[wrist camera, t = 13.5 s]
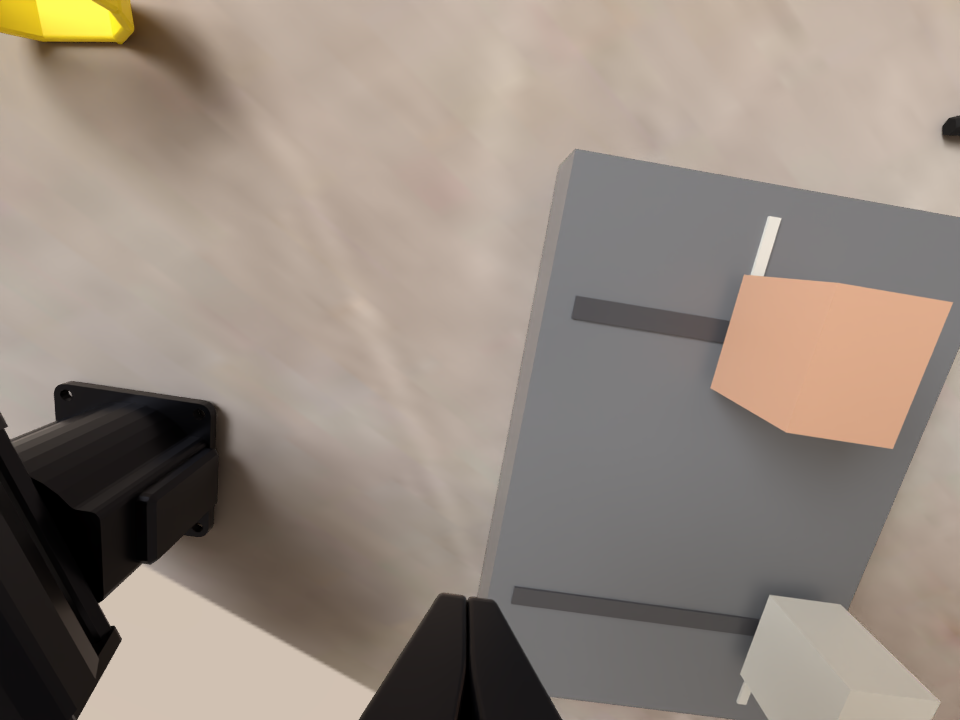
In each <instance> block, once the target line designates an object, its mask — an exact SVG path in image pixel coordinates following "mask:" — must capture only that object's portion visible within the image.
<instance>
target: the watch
mask: <svg viewBox="0 0 960 720" xmlns="http://www.w3.org/2000/svg"><path fill="white" fill-rule="evenodd" d="M0 32H1V33H5V34H10V35H14V36H19V37H24V38H28V39H33V40H37V41H42V42H117V44H123V42H125V41H126V40H127V39H128V37H129V36H130V35H131V34H132V33H133V32H134V23H133V17H132V10H131V4H130V0H0Z"/></svg>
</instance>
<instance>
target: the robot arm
mask: <svg viewBox="0 0 960 720" xmlns="http://www.w3.org/2000/svg"><path fill="white" fill-rule="evenodd" d="M68 391H70V392H71V393H72V396H73V397H71V396H70V395H69V392H68ZM54 400H55V415H56V421H55V422H53V423H50V424H48V425H45V426H43V427H40V428H38V429H35V430H33V431H30V432H28V433H25V434H23V435H20V436H18V437H15V438H13V439H9V437H8V435H7V433H6V431H5V429H4V428H6V427H8V426H7V424H6V422H5V420H4V418H3V416H2V414H1V413H0V720H77V719H78V717H79V715H80V713H81V712H82V710H83V708H84V706H85V705H86V703H87V701H88V699H89V697H90V696H91V694H92V692H93V690H94V688H95V687H96V685H97V683H98V681H99V679H100V678H101V676H102V674H103V672H104V671H105V669H106V667H107V665H108V664H109V662H110V660H111V658H112V656H113V655H114V653H115V651H116V649H117V647H118V646H119V644H120V642H121V640H122V638H121V637H120V635H119V633H118V631H117V629H116V627H115V626H110V624H109V622H108V621H107V619H106V617H105V615H104V613H103V611H102V610H101V608H100V606H99V604H98V603H100V602H101V601H103V600H104V599H105V598H106V597H107V596H108V595H109V594H110V593H111V592H112V591H113V590H114V589H115V588H116V587H118V586H119V584H121V583H122V582H123V581H124V580H125V579H126V578H127V577H128V576H129V575H131V574H132V572H134V571H135V570H136V569H137V568H138V567H139V566H140V565H141V564H142V563H143V564H150V565H151V564H152V563H154V562H155V561H157V560H158V559H159V558H160V557H161V556H162V555H163V554H164V553H166V552H167V551H168V550H169V549H170V548H171V547H172V546H173V545H174V544H175V543H176V542H177V541H178V540H179V539H180V538H181V537H182V536H183V535H187V536H195V537H202V536H204V535H206V534H207V533H208V532H209V531H210V529H211V528H212V527H213V524H214V505H215V504H216V503H217V493H218V453H217V451H216V450H215V440H216V410H215V408H214V406H213V405H212V404H211V403H210V402H207V401H203V400H197V399H190V398H183V397H176V396H170V395H163V394H156V393H149V392H143V391H136V390H129V389H122V388H116V387H109V386H102V385H95V384H89V383H82V382H75V381H70V382H66V383H63V384H60V385H58V386H57V387H56V388H55V391H54ZM199 409H200V410H202V411H203V412H204V413H205V417H203V416H201V415H200V414H199V411H198V410H199ZM197 522H198V523H200V524H201V525H202V526H203V527H201V526H199V525H198V523H197ZM359 720H562V719H561V717H560V715H559V713H558V711H557V710H556V708H555V706H554V704H553V703H552V701H551V699H550V697H549V695H548V694H547V692H546V690H545V688H544V686H543V685H542V683H541V681H540V679H539V678H538V676H537V674H536V672H535V670H534V669H533V667H532V665H531V663H530V661H529V660H528V658H527V656H526V654H525V653H524V651H523V649H522V647H521V645H520V644H519V642H518V640H517V638H516V637H515V635H514V633H513V631H512V629H511V628H510V626H509V624H508V622H507V620H506V619H505V617H504V615H503V613H502V612H501V610H500V608H499V606H498V604H497V603H496V602H495V601H494V600H492V599H487V598H479V597H470V598H468V600H466V597H465V596H463V595H457V594H449V593H441V594H439V595H438V596H437V598H436V599H435V601H434V602H433V604H432V606H431V607H430V609H429V610H428V612H427V613H426V615H425V617H424V618H423V620H422V621H421V623H420V624H419V626H418V628H417V629H416V631H415V632H414V634H413V635H412V637H411V639H410V640H409V642H408V643H407V645H406V646H405V648H404V650H403V651H402V653H401V654H400V656H399V657H398V659H397V661H396V662H395V664H394V665H393V667H392V668H391V670H390V672H389V673H388V675H387V676H386V678H385V679H384V681H383V682H382V684H381V686H380V687H379V689H378V690H377V692H376V693H375V695H374V697H373V698H372V700H371V701H370V703H369V704H368V706H367V708H366V709H365V711H364V712H363V714H362V715H361V717H360V719H359Z"/></svg>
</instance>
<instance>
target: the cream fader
mask: <svg viewBox="0 0 960 720" xmlns="http://www.w3.org/2000/svg"><path fill="white" fill-rule="evenodd" d="M740 675H741V677H742V678H743V680H744V681H745V683H746V685H747V686H748V688H749V689H750V691H751V693H752V694H753V696H754V697H755V699H756V701H757V702H758V704H759V705H760V707H761V709H762V710H763V712H764V714H765V715H766V717H767V718H768V720H932V718H933V716H934V714H935V712H936V711H937V709H938V707H939V705H940V703H941V701H940V700H939V699H938V698H937V697H936V696H934V695H933V694H932V693H931V692H930V691H929V690H928V689H927V688H926V687H925V686H924V685H923V684H922V683H921V682H920V681H919V680H918V679H917V678H916V677H915V676H914V675H913V674H912V673H911V672H910V671H909V670H908V669H907V668H906V667H905V666H904V665H903V664H902V663H901V662H900V661H898V660H897V659H896V658H895V657H894V656H893V655H892V654H891V653H890V652H889V651H888V650H887V649H886V648H885V647H884V646H883V645H882V644H881V643H880V642H879V641H878V640H877V639H876V638H875V637H874V636H873V635H872V634H871V633H870V632H869V631H868V630H867V629H866V628H865V627H863V626H862V625H861V624H860V623H859V622H858V621H857V620H856V619H855V618H854V617H853V616H852V615H851V614H850V613H849V612H848V611H847V610H846V609H845V608H844V607H843V606H842V605H841V604H834V603H827V602H819V601H812V600H805V599H797V598H790V597H783V596H775V595H769V597H768V600H767V603H766V605H765V608H764V611H763V614H762V616H761V619H760V622H759V624H758V627H757V630H756V632H755V635H754V638H753V640H752V643H751V646H750V648H749V651H748V654H747V657H746V659H745V662H744V665H743V667H742V670H741V673H740Z"/></svg>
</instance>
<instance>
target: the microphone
mask: <svg viewBox="0 0 960 720" xmlns="http://www.w3.org/2000/svg"><path fill="white" fill-rule="evenodd" d="M943 134H944V135H958V136H960V116H956V117H952V118H949V119H948V120H947V121H946V122H945V124H944V125H943Z"/></svg>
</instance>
